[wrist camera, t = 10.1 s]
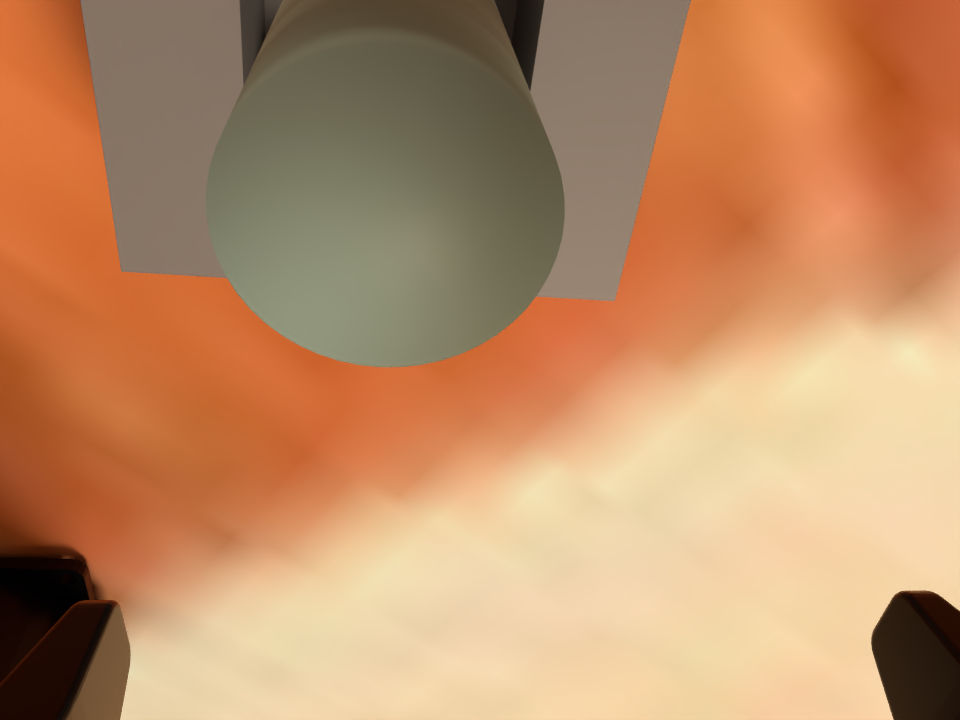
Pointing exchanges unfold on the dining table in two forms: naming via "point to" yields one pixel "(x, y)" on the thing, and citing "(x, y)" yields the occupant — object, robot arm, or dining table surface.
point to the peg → (386, 181)
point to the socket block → (234, 48)
